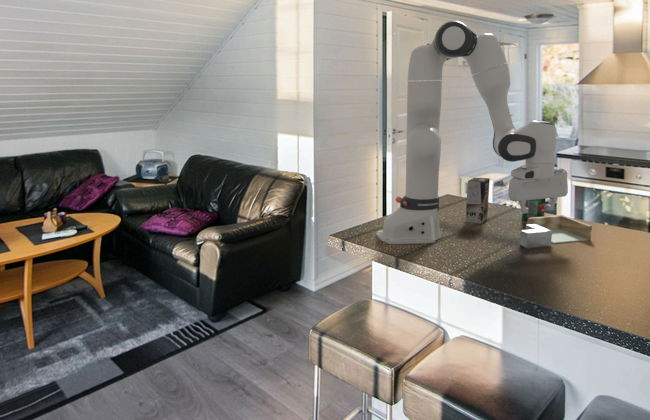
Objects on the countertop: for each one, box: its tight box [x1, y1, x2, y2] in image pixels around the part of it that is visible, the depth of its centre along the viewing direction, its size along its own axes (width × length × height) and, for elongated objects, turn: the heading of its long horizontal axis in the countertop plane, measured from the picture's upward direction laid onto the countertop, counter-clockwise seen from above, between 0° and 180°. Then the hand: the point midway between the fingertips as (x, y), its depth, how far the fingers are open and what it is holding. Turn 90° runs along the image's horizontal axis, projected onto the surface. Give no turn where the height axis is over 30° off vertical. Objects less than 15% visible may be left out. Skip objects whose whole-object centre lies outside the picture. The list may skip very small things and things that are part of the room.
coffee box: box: [465, 177, 490, 225], centre depth 198 cm, size 9×6×16 cm
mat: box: [549, 229, 589, 245], centre depth 179 cm, size 14×15×1 cm
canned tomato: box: [521, 198, 547, 224], centre depth 195 cm, size 8×8×11 cm
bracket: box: [519, 224, 552, 249], centre depth 171 cm, size 9×9×5 cm
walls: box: [526, 214, 593, 241], centre depth 178 cm, size 14×15×5 cm
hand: (537, 211), depth 172 cm, fingers open, 8 cm apart
